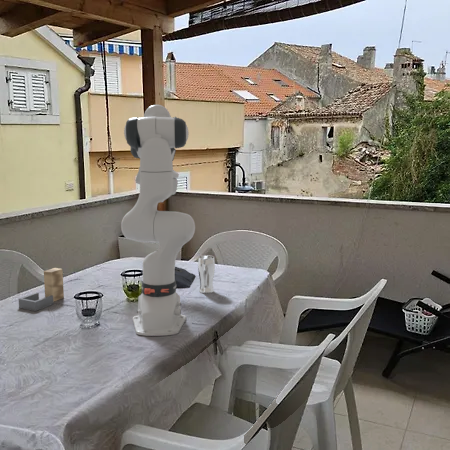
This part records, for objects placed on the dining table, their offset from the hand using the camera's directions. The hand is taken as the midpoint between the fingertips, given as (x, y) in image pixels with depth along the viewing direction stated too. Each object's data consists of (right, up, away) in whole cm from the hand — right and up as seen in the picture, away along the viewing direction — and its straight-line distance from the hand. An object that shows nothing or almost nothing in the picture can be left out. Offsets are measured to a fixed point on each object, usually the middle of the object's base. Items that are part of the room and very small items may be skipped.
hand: (152, 198), depth 226 cm
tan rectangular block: (-35, -41, -25) cm, 60 cm away
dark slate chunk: (+11, -38, +2) cm, 40 cm away
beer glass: (+25, -40, -14) cm, 49 cm away
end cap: (-39, -43, -33) cm, 67 cm away
